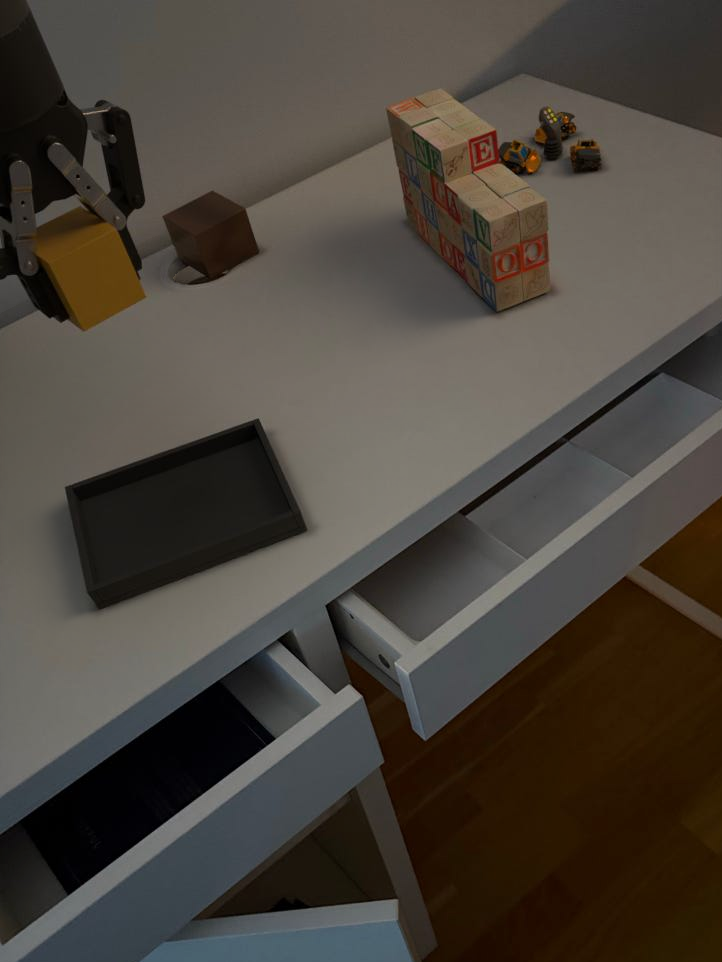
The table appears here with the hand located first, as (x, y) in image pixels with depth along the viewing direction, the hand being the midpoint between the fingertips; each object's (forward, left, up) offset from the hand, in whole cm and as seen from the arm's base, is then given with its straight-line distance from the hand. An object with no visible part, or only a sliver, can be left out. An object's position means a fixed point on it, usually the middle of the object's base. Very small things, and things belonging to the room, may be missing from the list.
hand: (94, 296), depth 64 cm
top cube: (0, 0, 0) cm, 0 cm away
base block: (+11, +37, -19) cm, 43 cm away
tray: (-1, -2, -19) cm, 19 cm away
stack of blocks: (+35, +21, -19) cm, 45 cm away
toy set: (+51, +34, -19) cm, 64 cm away
